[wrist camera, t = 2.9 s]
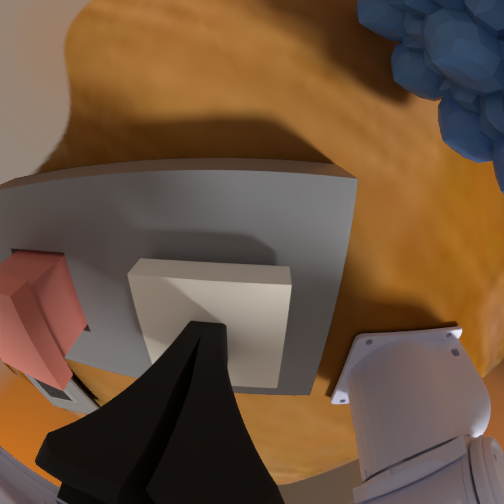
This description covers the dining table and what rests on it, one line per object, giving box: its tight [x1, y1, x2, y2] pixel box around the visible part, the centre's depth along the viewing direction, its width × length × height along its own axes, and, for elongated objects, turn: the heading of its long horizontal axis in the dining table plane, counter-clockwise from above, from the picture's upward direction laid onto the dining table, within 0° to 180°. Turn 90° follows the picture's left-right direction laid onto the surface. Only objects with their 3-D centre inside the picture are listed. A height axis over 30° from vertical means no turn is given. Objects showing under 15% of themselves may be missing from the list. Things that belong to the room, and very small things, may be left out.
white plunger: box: [127, 258, 292, 388], centre depth 12 cm, size 6×6×5 cm
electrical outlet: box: [24, 373, 101, 414], centre depth 21 cm, size 13×10×2 cm
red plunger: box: [0, 249, 88, 391], centre depth 11 cm, size 6×6×5 cm
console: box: [0, 158, 358, 395], centre depth 13 cm, size 20×12×4 cm, turn 89°
